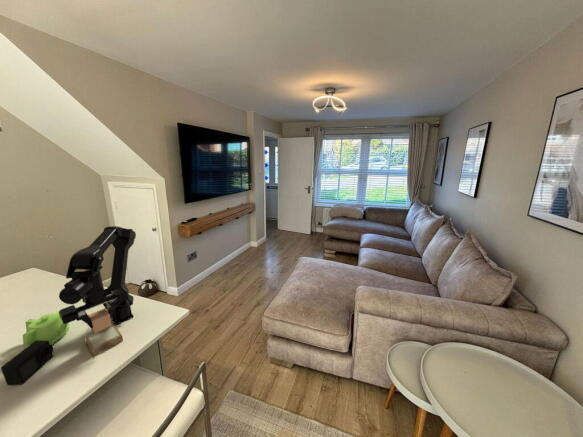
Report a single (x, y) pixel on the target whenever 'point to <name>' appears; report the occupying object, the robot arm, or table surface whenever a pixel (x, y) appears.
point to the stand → (103, 339)
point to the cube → (100, 320)
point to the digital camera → (27, 362)
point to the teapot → (45, 329)
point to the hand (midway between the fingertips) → (100, 323)
